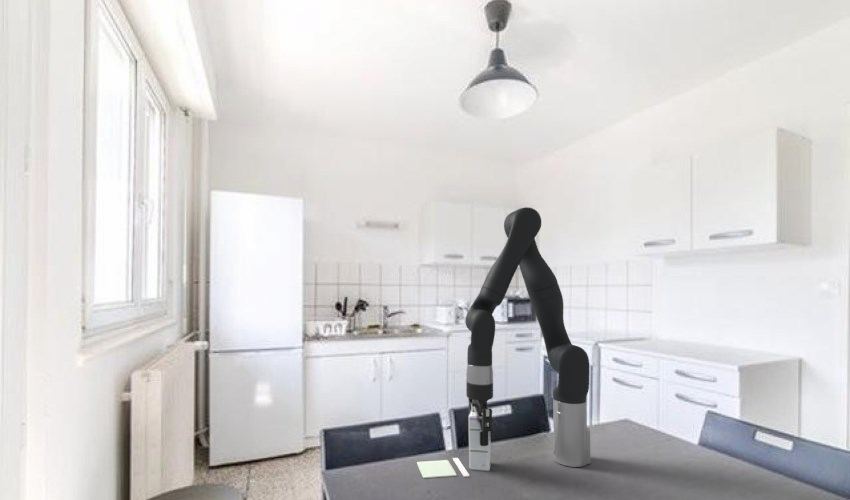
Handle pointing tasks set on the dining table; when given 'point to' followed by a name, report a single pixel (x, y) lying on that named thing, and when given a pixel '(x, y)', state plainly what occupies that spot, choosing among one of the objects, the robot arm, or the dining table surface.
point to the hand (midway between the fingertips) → (479, 440)
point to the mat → (436, 469)
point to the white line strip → (461, 467)
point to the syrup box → (478, 446)
